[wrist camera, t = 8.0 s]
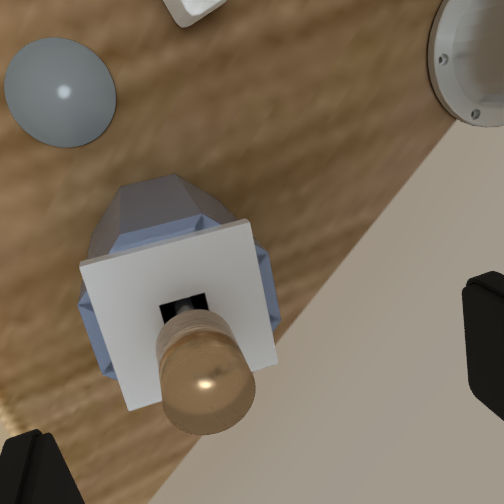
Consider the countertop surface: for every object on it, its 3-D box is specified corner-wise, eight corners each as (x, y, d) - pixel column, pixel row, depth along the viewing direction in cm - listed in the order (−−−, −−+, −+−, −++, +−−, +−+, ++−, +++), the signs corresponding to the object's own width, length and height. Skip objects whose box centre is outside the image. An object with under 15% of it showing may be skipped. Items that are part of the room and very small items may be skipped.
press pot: (212, 164, 37) (262, 202, 24) (244, 311, 41) (301, 410, 28) (79, 196, 35) (55, 255, 22) (128, 345, 40) (132, 468, 27)
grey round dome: (98, 29, 32) (98, 28, 32) (127, 134, 35) (128, 135, 34) (-11, 49, 31) (-13, 48, 31) (27, 156, 34) (26, 157, 33)
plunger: (204, 197, 34) (280, 288, 18) (225, 286, 36) (308, 436, 20) (105, 221, 33) (90, 344, 17) (133, 312, 35) (144, 494, 19)
